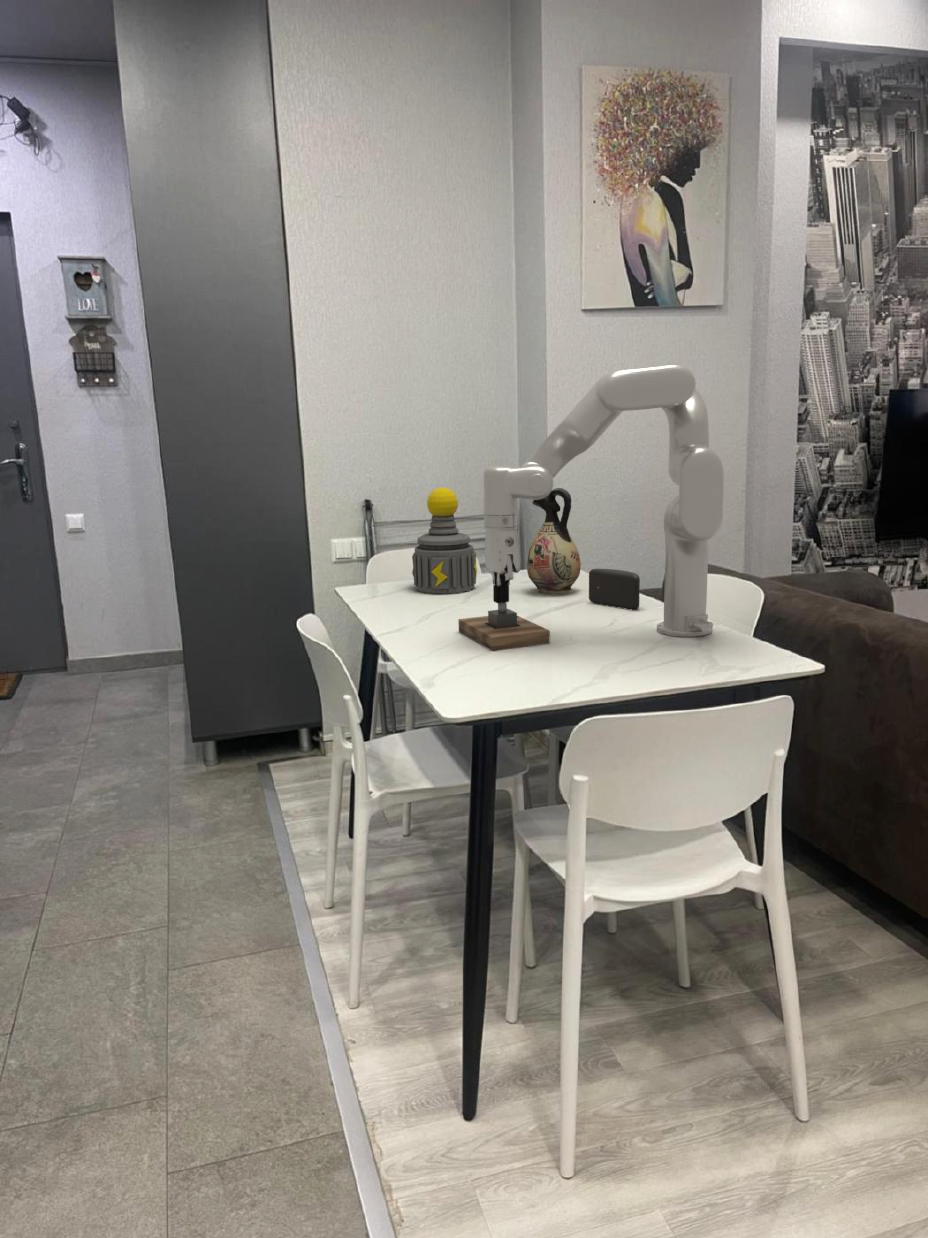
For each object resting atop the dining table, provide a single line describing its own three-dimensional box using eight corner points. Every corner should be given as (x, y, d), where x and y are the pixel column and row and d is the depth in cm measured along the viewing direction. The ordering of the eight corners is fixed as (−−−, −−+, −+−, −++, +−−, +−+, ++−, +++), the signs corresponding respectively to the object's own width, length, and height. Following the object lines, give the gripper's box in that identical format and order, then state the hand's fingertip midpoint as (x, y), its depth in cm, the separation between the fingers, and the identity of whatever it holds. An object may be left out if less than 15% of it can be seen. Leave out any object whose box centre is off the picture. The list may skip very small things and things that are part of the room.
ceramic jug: (515, 593, 256) (514, 488, 249) (548, 585, 267) (548, 484, 260) (563, 600, 245) (563, 490, 238) (595, 591, 256) (596, 486, 249)
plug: (517, 634, 205) (516, 604, 203) (497, 636, 203) (496, 606, 201) (508, 629, 209) (507, 600, 208) (488, 631, 207) (487, 602, 206)
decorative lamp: (408, 595, 258) (403, 490, 251) (419, 582, 276) (416, 485, 269) (472, 595, 255) (470, 489, 249) (480, 582, 273) (478, 484, 267)
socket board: (549, 643, 199) (549, 630, 199) (492, 650, 194) (491, 637, 194) (512, 625, 218) (512, 613, 217) (458, 631, 213) (458, 619, 212)
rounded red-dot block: (647, 608, 232) (647, 573, 230) (636, 611, 229) (636, 575, 227) (598, 600, 244) (598, 566, 242) (587, 603, 241) (587, 568, 239)
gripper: (530, 524, 195) (530, 606, 199) (502, 517, 208) (502, 594, 212) (498, 526, 192) (499, 609, 196) (472, 519, 206) (473, 597, 210)
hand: (501, 601), depth 204 cm, fingers closed
